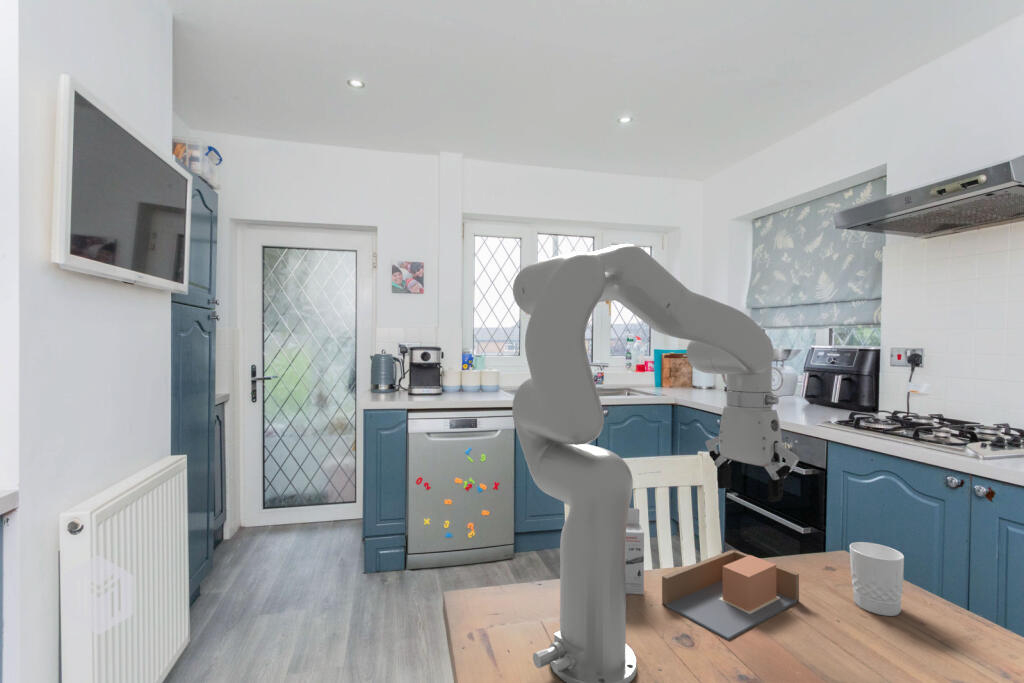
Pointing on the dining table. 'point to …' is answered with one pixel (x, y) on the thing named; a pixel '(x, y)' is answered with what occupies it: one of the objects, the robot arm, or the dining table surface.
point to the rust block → (749, 582)
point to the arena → (703, 602)
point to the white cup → (877, 577)
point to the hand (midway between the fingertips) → (748, 493)
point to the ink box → (634, 554)
